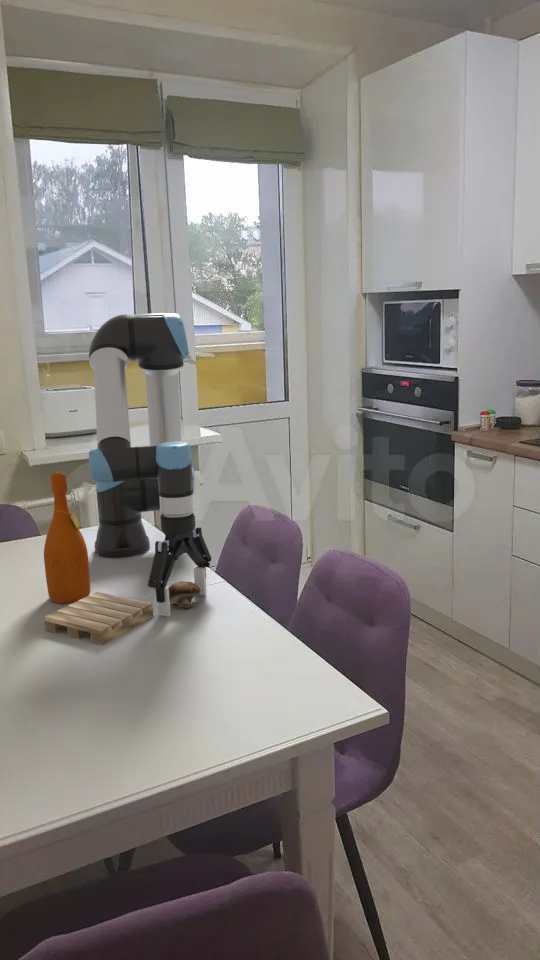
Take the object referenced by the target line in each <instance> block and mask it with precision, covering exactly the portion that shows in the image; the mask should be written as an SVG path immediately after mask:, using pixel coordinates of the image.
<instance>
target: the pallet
mask: <svg viewBox="0 0 540 960" xmlns="http://www.w3.org/2000/svg"><path fill="white" fill-rule="evenodd" d="M153 617H154V607H153V603H151V602H147V601H142V600H139V599H138V600H137V599H132V598H129V597H128V598H127V597H124V596H119V595H114V594H110V593H109V594H108V593H105V592H100V591H96V592H93V593H91V594H89V595H88V596H87V597H85V598H83V599H80V600H78V601H76V602H73V603H69V604H68V605H66V606H64V607H62V608H60V609H57V610H55V611H53V612H51V613H49V614H47V615H45V616H44V628H45V629H44V630H45V631H47V632H51V633H55V634H56V633H58V632H60V631H62V630H64V629H66V632H67V637H69V638H74V639H81V638H83V637H85V636H87V635H88V634H90V635H89V636H90V642H91V643H93V644H96V645H100V646H104V645H105V644H107V643H109V642H110V641H113V640H115V639H116V638H117V637H119V636H121V635H123V634H124V633H126V632H128V631H130V630H131V629H134V628H135V627H138V626H139V625H140V624H142V623H144V622H145V621H147V620H149V619H151V618H153Z"/></svg>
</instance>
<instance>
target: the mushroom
mask: <svg viewBox="0 0 540 960" xmlns="http://www.w3.org/2000/svg"><path fill="white" fill-rule="evenodd" d="M168 587H169V600H170V605H171V604H172V605H173V604H177V605H178V606H179V607H182V608H193V606H194V605H193V603H192V600H193V599H194V598H196V597H197V596H199V593H200V588H199V586H198V585H196V584H195V582H194V581H193V582H192V581H183V580H182V581H181V580H180V581H177V582H174V583H173V584H171V585H170V586H168Z"/></svg>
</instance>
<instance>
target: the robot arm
mask: <svg viewBox="0 0 540 960" xmlns="http://www.w3.org/2000/svg"><path fill="white" fill-rule="evenodd" d="M188 344H189V343H188V338H187V333H186V330H185V325H184V321H183V318H182V316H181V315H179V314H178V313H166V312H158V313H157V312H155V313H154V312H153V313H140V314H139V313H138V314H137V313H136V314H135V313H134V314H126V313H125V314H119V315H116V316H114V317H112V318H109V319H107V321H105V322H104V323H103V324H102V325H101V326H100V327H99V329H97V331H96V332H95V334H94V336H93V338H92V339H91V343H90V346H89V351H88V359H89V362H88V363H89V366H90V368H91V369H92V370H93V376H94V377H93V378H94V379H93V381H94V400H95V418H96V419H95V420H96V442H97V443H96V445H97V448H95V449H91V450H90V451H89V452H88V466H89V474H90V475H89V477H90V479H91V480H92V482H94V483H95V492H96V502H97V512H98V513H97V514H98V528H97V532H96V533H97V534H96V538H95V539H96V540H95V541H94V553H95V555H98V556H99V557H104V558H109V559H111V558H112V559H114V558H115V559H116V558H117V559H118V558H128V557H132V556H133V557H134V556H137V555H141V554H144V553H145V552H147V551H149V550H150V549H151V546H150V545H151V544H150V537H149V535H147V531H146V529H145V526H144V523H143V520H142V513H146V512H160V529H161V531H162V533H164V540H163V541H159V540H157V541H155V543H154V555H153V561H152V565H151V569H150V573H149V577H148V578H149V579H148V582H147V583H148V584H147V586H148V588H153V589H155V599H156V602H157V610H158V615H159V616H163V617H170V616H171V603H170V600H169V587H170V586H167V585H168V582H169V579H170V576H171V574H172V571H173V568H174V566H175V563H176V561H177V560H179V557H180V556H182V555H184V554H187V555H188V557H189V558H190V559H191V560H192V562H193V564H195V566H193V579H194V581H193V583H195V584H196V585H198V586H199V588H200V593H199V594H198V596H199V595H200V596H204V597H205V596H207V580H206V578H207V569H206V568H209V567H210V566H211V563H210V562H212V556H211V554H210V551H209V549H208V547H207V543H206V542H205V539H204V536H203V531H202V530H203V529H202V527H200V526H196V525H197V524H196V515H195V512H194V511H195V510H196V507H195V495H194V491H195V471H194V470H195V469H194V467H193V456H192V449H191V444H189V443H188V442H186V441H185V442H184V441H182V426H181V425H182V423H181V420H182V419H181V403H180V380H179V372H180V371H181V370H182V369H183V367H184V364H185V363H184V360H187V359H189V358H190V353H189V345H188ZM129 361H131V362H132V361H133V362H134V361H135V362H137V361H138V368H139V369H140V370H141V371H142V372H143V374H145V386H146V388H145V391H146V402H147V403H146V404H147V405H146V406H147V417H148V418H147V420H148V432H149V433H148V435H149V445H147V446H133V447H132V444H131V431H130V430H131V429H130V419H129V404H128V392H127V390H128V389H127V376H126V369H127V367H128V366H129Z"/></svg>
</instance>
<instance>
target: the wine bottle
mask: <svg viewBox="0 0 540 960" xmlns="http://www.w3.org/2000/svg"><path fill="white" fill-rule="evenodd" d="M50 481H51V492H52V493H53V494H54V497H53V500H54V502H53V503H54V504H53V505H54V506H53V515H52V519H51V522H50V525H49V528H48V532H47V534H46V538H45V542H44V546H43V547H44V548H43V561H44V563H43V564H44V570H45V571H44V572H45V573H44V574H45V580H46V586H47V593H48V597H49V599H50V600H51V601H52V602H53V603H56V604H72V603H74V602H76V601H77V602H78V600H80V599H83V598H85V597H88V596H89V595H91V594H90V593H91V577H90V561H89V555H88V548H87V544H86V543H87V542H86V541H85V539H84V537H83V534H82V532H81V530H80V528H79V527H80V526H81V524H80V522H79V521H80V520H79V519H78V517H77V515H76V513H75V512H74V511H73V510H71V508H69V504H68V499H67V492H68V490H69V488H68V484H67V475H66V473H65V472H63V471H55V472H53V473H51V475H50ZM71 512H72V513H73V514H71Z"/></svg>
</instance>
